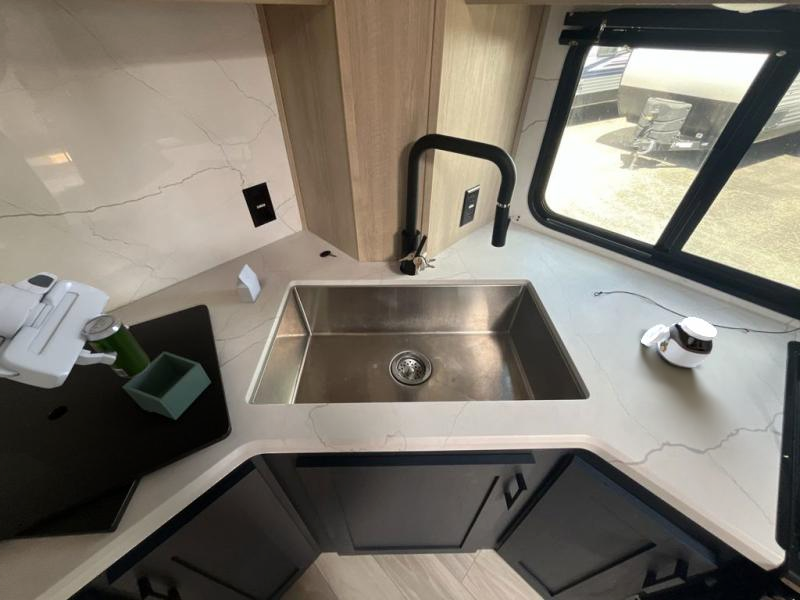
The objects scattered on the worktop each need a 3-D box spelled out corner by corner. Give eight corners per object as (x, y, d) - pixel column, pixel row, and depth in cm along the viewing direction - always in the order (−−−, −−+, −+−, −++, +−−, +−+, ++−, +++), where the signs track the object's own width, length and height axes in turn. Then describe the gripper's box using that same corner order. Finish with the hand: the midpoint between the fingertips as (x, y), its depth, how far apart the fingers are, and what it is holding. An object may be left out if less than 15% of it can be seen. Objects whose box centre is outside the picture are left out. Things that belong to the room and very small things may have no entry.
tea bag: (260, 289, 105) (252, 263, 98) (254, 302, 100) (244, 276, 93) (249, 288, 105) (240, 263, 98) (242, 302, 99) (231, 276, 93)
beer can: (142, 379, 60) (105, 336, 52) (112, 380, 60) (70, 336, 52) (157, 357, 64) (125, 313, 56) (129, 357, 64) (93, 313, 56)
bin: (178, 423, 69) (160, 401, 64) (142, 409, 72) (121, 387, 66) (213, 385, 77) (199, 363, 71) (179, 373, 79) (164, 351, 74)
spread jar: (697, 374, 83) (729, 344, 75) (650, 366, 84) (676, 336, 77) (677, 340, 92) (703, 310, 84) (634, 333, 93) (656, 303, 86)
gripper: (-26, 355, 41) (109, 381, 50) (49, 265, 55) (143, 298, 64) (-40, 384, 42) (92, 404, 51) (36, 290, 57) (129, 318, 66)
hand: (121, 344), depth 58 cm, fingers closed on beer can, 5 cm apart
